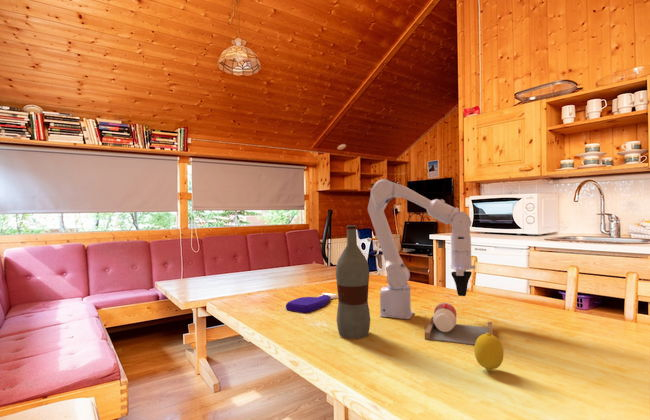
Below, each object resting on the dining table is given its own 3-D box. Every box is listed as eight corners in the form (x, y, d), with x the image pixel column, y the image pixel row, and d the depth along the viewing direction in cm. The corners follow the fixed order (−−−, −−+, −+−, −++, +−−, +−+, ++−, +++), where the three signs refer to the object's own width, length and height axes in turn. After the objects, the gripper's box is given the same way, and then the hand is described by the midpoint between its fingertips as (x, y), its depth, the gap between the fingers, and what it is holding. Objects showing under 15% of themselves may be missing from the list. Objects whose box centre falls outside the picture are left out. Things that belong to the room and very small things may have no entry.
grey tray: (424, 339, 95) (424, 332, 95) (432, 322, 109) (432, 316, 109) (493, 347, 89) (493, 340, 89) (492, 328, 102) (492, 322, 102)
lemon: (470, 366, 78) (469, 329, 78) (494, 364, 79) (493, 327, 79) (483, 377, 73) (482, 337, 73) (509, 376, 73) (508, 336, 73)
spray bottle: (308, 306, 121) (343, 292, 142) (282, 302, 127) (320, 289, 148) (308, 315, 121) (343, 300, 142) (282, 310, 127) (320, 297, 148)
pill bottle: (443, 297, 108) (442, 306, 97) (460, 312, 106) (461, 323, 96) (430, 312, 109) (427, 323, 99) (446, 327, 108) (445, 339, 97)
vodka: (373, 330, 103) (371, 224, 103) (366, 341, 95) (364, 226, 95) (342, 327, 106) (340, 224, 106) (332, 337, 98) (330, 226, 98)
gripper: (474, 254, 103) (475, 302, 103) (475, 249, 116) (476, 291, 116) (448, 253, 106) (449, 300, 106) (452, 248, 119) (453, 289, 119)
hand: (462, 295), depth 111 cm, fingers closed
